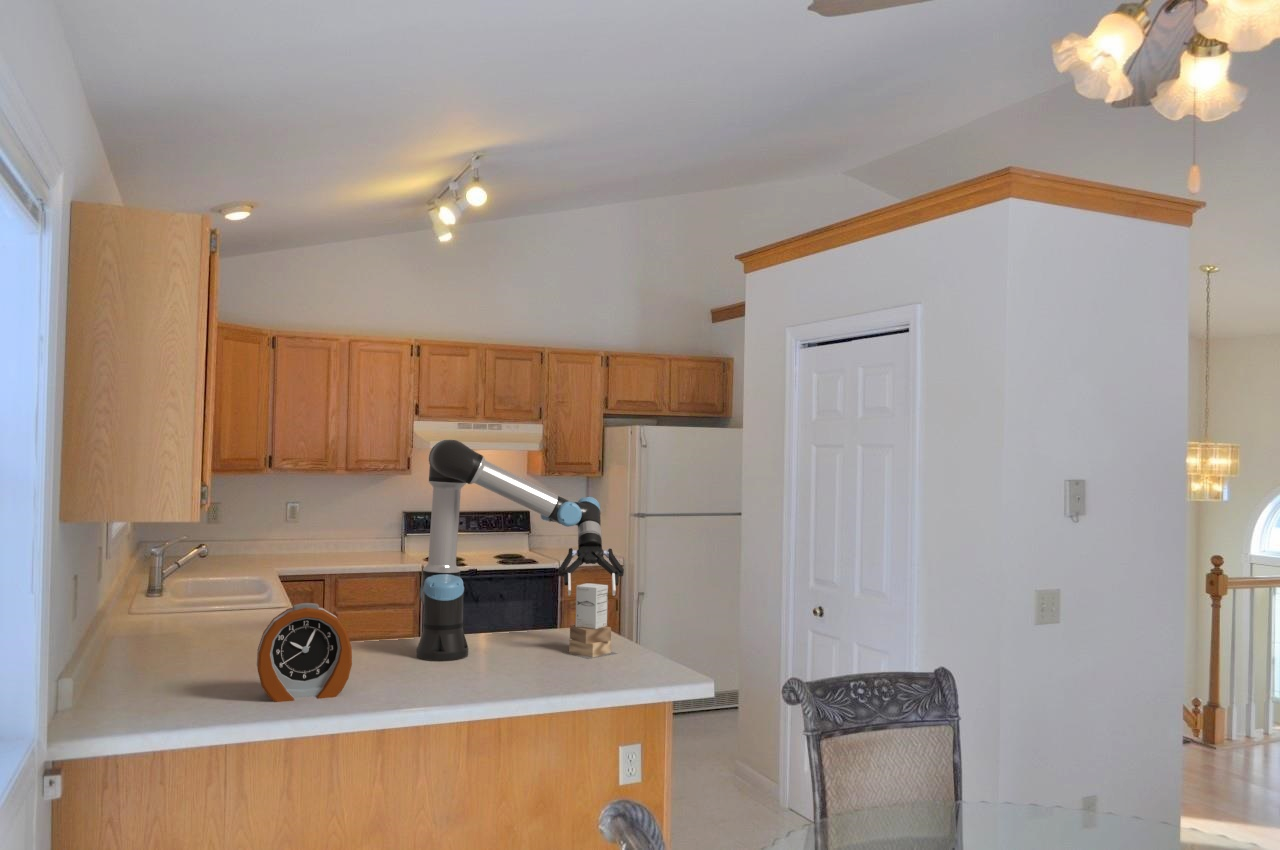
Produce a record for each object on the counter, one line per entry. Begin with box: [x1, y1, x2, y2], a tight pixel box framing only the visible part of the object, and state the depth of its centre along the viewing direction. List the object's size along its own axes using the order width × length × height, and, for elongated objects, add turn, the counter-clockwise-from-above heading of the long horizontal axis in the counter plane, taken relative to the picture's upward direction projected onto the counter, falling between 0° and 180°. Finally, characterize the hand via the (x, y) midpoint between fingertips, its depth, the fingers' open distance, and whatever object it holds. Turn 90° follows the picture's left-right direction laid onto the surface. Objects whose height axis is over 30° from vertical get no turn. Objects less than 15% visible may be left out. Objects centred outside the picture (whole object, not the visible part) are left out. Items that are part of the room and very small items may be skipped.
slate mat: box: [562, 651, 619, 660], centre depth 294 cm, size 12×12×1 cm
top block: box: [569, 624, 612, 644], centre depth 294 cm, size 9×9×4 cm
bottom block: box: [568, 639, 612, 657], centre depth 294 cm, size 9×9×4 cm
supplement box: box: [575, 582, 609, 629], centre depth 294 cm, size 7×7×13 cm
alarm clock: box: [256, 602, 353, 703], centre depth 242 cm, size 22×10×23 cm, turn 114°
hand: (591, 593), depth 294 cm, fingers open, 13 cm apart
